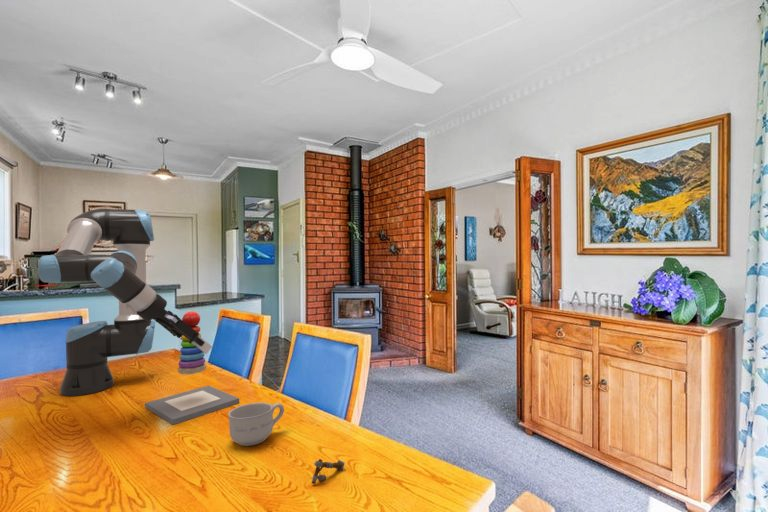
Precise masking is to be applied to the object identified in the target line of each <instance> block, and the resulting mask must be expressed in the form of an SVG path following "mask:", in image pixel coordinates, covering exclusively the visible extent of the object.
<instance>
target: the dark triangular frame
mask: <svg viewBox="0 0 768 512" xmlns="http://www.w3.org/2000/svg"><path fill="white" fill-rule="evenodd" d="M345 463H346V462H345V461H342V460H340V459H338V460H337V462H331V461H330V462H329V461H323V459H321V458H320V459H318V460H315V462H314V466H315V467H316V468H315V471H314V474H313V476H312V479H311V484H313V485H315V484H316V483H317V481H320V482H322V481H325V480H326V479H327V476H326V475H325V474H321V473H320V472H321V471H322V469H323V468H326V469H336V470H338V471H340V472H343V471H344V467H345Z"/></svg>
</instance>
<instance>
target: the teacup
mask: <svg viewBox="0 0 768 512" xmlns="http://www.w3.org/2000/svg"><path fill="white" fill-rule="evenodd" d="M277 408H279V412H278V413H277V415H276V416H275V417H274V413H275V412H274V411H275V410H276V409H277ZM284 413H285V408H284V405H283V404H282V403H280V402H276V403H274V404H271V403H269V402H268V403H267V402H252V403H247V404H242V405H240V406H237V407H235V408H232V409H231V410H229V412H228V414H227V416H228V424H229V425H228V427H229V436H230V439H231V440H232V442H235V443H237V444H238V445H239V446H243V447H249V446H250V447H252V446H255V445H258V444H261V443H263V442H265V440H266V439H267V438H268V437H269V436H270V435H271V433H272V432H273V428H274V426H275V424H277V422H279V420H281V418H282V417H283V416H284Z"/></svg>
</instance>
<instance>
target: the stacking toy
mask: <svg viewBox="0 0 768 512" xmlns="http://www.w3.org/2000/svg"><path fill="white" fill-rule="evenodd" d="M181 320H182V321H184V322H185V323H186V324H187V325H189V326H190V327H191V328H192V329H194V330H195V331H196V332H198V333H199V336H200V337H201V338H202V335H201V333H200V331H201V327H200V326H198V325H199V324H200V321H201V316H200V314H199V313H198V312H197V311H187V312H185V313H184V314H183V315H182V318H181ZM180 338H181V339H182V340H183V341H182V340H181V339H180V340H181V342H180V346H181V348H180V349H179V350H180V351H179V352H180V353H181V354H180V355H179V361H178V363H177V364H178V366H179V367H178V368H177V372H178V373H179V374H181V375H195V374H198V373H201V372H204V371H206V369H207V365H206V358H204V357H205V353H204V352H202V351H201V350H200V349H199V348H197V347H196V346H195V345H194V344H192V343H191V344H190V343H189V342H190V340H189V339H187V338H186V337H185V336H183V335H182V337H180Z"/></svg>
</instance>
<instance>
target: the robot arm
mask: <svg viewBox="0 0 768 512" xmlns="http://www.w3.org/2000/svg"><path fill="white" fill-rule="evenodd" d="M152 224H153V223H152V217H151V214H150V212H149V211H147V210H140V209H127V208H126V209H124V208H123V209H121V208H119V209H118V208H95V209H91V210H88V211H85V212H83V213H81V214H79V215H77V216H75V217H73V219H72V220H71V221H70V222H69V224H68V225H67V227H66V231H67V235H66V237H65V238H64V240H63V241H62V243H61V245H60V247H59V248H58V251H57V252H56V254H50V255H48V254H47V255H42V256H40V258H39V260H38V263H37V264H38V265H37V272H38V273H37V274H38V277H39V280H40V281H41V282H42V283H57V284H60V283H74V282H75V283H79V282H95V283H96V284H97V285H98V286H99V287H100V288H101V289H104V290H105V291H107V292H108V293H109V294H110V295H112V296H113V297H114V298H116V299H117V300H118V315H117V316H116V317H115V318H114V319H113V324H108V322H107V320H101V321H100V320H97V321H93V322H87V323H86V322H85V323H82V324H78V325H75V326H72V327H70V328H69V329H67V330H66V337H65V338H66V339H65V347H66V349H65V352H66V355H65V357H66V359H65V360H66V364H65V365H66V370H65V374H64V376H63V379H62V382H61V384H60V388H59V394H60V395H61V396H63V397H65V396H66V397H76V396H78V397H79V396H85V395H90V394H95V393H99V392H102V391H106V390H108V389H110V388H112V387H113V386H114V384H115V383H114V375H113V374H112V372H111V369H110V366H109V364H108V358H111V357H112V358H113V357H119V356H128V355H138V354H139V355H140V354H143V353H149V352H150V351H151V350H152V349H153V342H154V336H155V328H156V323H158V324H159V325H161V327H163V328H164V329H165V330H166V331H168V332H169V333H170V334H171V335H172V336H173V337H176V338H178V339H180V341H181V342H182V341H183V340H182V339H181V337H182V335H183V336H185V337H186V338H187V339H189V340H190V342H189V343H190V344H191V343H192V344H194V345H195V346H196V347H197V348H199V349H200V350H201V351H202V352H204V355H207V354H208V353H209V351H210V350H211V349H212V348H213V346H212V345H211V344H210V343H208V341H206V340H205V339H203V338H202V336H201V337H200V336H199V333H200V332H196V331H195V330H194V329H192V328H191V327H190V326H189V325H187V324H186V323H185V322H184V321H182V318H180V317H179V316H178V315H177V314H174V313H173V312H172V311H171V310H166V307H167V305H168V304H167V303H168V301H167V300H166V299H164V297H162V296H161V294H158V293H157V292H156V290H154V289H153V288H152V287H151V286H150V285H148V284H147V275H146V273H147V272H146V271H147V269H146V268H147V267H146V260H147V259H146V258H147V257H146V250H147V249H148V248H149V247H150V246H151V242H153V241H155V236H154V230H153V229H154V228H153V225H152ZM98 241H108V242H109V241H112V243H113V245H112V246H113V247H114V248H116V249H117V251H114V252H112V253H111V254H91V253H92V250H93V248H94V246H95V243H97V242H98Z"/></svg>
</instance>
